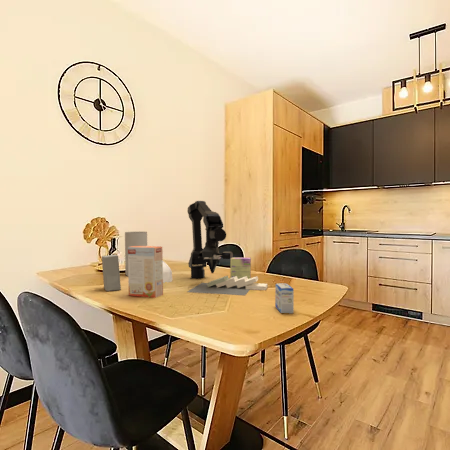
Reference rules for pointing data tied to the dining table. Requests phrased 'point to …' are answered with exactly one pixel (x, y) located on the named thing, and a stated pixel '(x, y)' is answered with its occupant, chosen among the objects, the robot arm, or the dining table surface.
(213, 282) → the domino
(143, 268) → the cracker box
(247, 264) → the box
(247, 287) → the domino
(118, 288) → the skincare box
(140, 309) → the dining table surface
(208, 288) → the mat
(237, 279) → the domino
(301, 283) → the dining table surface
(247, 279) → the domino
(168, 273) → the teardrop
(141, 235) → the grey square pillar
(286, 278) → the dining table surface
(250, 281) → the domino
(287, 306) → the medicine box
